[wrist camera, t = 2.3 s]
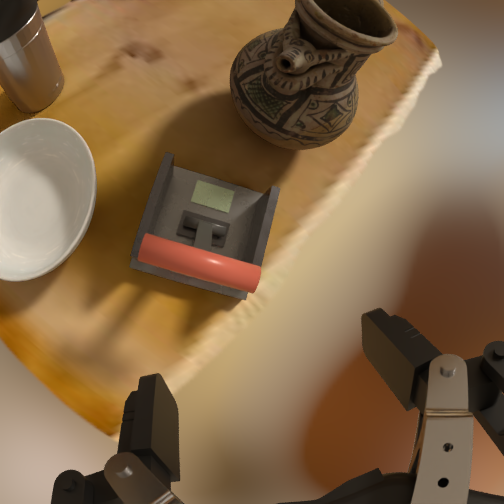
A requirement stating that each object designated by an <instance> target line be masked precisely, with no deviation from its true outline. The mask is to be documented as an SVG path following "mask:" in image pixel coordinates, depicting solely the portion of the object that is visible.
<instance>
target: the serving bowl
mask: <svg viewBox="0 0 504 504" xmlns="http://www.w3.org/2000/svg"><path fill="white" fill-rule="evenodd" d="M96 193H97V179H96V170H95V165H94V160H93V157H92V154H91V152H90V149H89V147H88V145H87V144H86V142H85V140H84V139H83V138H82V136H81V135H80V134H79V133H78V132H77V131H76V130H75V129H73V128H72V127H70V126H69V125H67V124H65V123H63V122H61V121H58V120H54V119H49V118H35V119H29V120H25V121H22V122H19V123H17V124H14V125H12V126H10V127H9V128H7V129H5V130H4V131H2V132H1V133H0V279H1V280H5V281H11V282H21V281H28V280H32V279H35V278H38V277H41V276H43V275H45V274H47V273H49V272H51V271H52V270H54V269H55V268H57V267H58V266H59V265H61V264H62V263H63V262H64V261H65V260H66V259H67V258H68V257H69V256H70V255H71V254H72V253H73V252H74V250H75V249H76V248H77V246H78V245H79V244H80V242H81V240H82V239H83V237H84V235H85V233H86V231H87V229H88V227H89V224H90V222H91V219H92V216H93V212H94V208H95V202H96Z"/></svg>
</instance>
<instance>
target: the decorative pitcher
mask: <svg viewBox="0 0 504 504" xmlns="http://www.w3.org/2000/svg"><path fill="white" fill-rule="evenodd" d="M295 6H296V7H295V9H294V11H293V13H292V15H291V17H290V19H289V21H288V23H287V24H286V25H285V27H284V28H281V29H276V30H272V31H269V32H266V33H264V34H261V35H259V36H257V37H256V38H254V39H253V40H251V41H250V42H249V43H247V44H246V45H245V46H244V47H243V48H242V49H241V51H240V52H239V53H238V55H237V56H236V58H235V60H234V62H233V64H232V67H231V72H230V89H231V94H232V98H233V102H234V105H235V107H236V109H237V111H238V113H239V115H240V116H241V118H242V120H243V121H244V122H245V124H246V125H247V126H248V127H249V128H250V129H251V130H252V131H253V132H254V133H256V134H257V135H258V136H260V137H261V138H263V139H264V140H266V141H268V142H270V143H272V144H274V145H276V146H279V147H282V148H286V149H294V150H305V149H312V148H316V147H320V146H323V145H326V144H328V143H330V142H332V141H333V140H335V139H336V138H337V137H339V136H340V135H341V134H342V133H343V132H344V131H345V130H346V129H347V128H348V127H349V126H350V124H351V122H352V121H353V118H354V116H355V113H356V110H357V105H358V84H357V79H356V75H355V74H356V72H357V71H358V70H359V69H360V68H361V67H362V65H363V64H364V63H365V61H366V60H367V59H368V58H369V56H370V55H371V54H373V53H377V52H379V51H380V50H382V49H383V47H384V46H387V45H390V44H392V43H393V42H394V41H395V40H396V38H397V36H398V28H397V26H396V24H395V22H394V20H393V19H392V17H391V16H390V14H389V13H388V12H387V11H386V9H385V8H384V7H383V0H295Z"/></svg>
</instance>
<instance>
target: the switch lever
mask: <svg viewBox="0 0 504 504" xmlns="http://www.w3.org/2000/svg"><path fill="white" fill-rule="evenodd" d="M183 225H184V226H187V227H191V228H194V229H197V230H196V234H195V239H194V243H193V247H192V246H188V245H185V244H181V243H178V242H175V241H171V240H168V239H165V238H161V237H158V236H154V235H151V234H148V233H146V234H145V235H144V238H143V240H142V243H141V247H140V250H139V255H138V261H140V262H143V263H147V264H150V265H153V266H157V267H160V268H164V269H167V270H170V271H174V272H177V273H181V274H184V275H188V276H191V277H195V278H198V279H202V280H205V281H209V282H213V283H216V284H220V285H224V286H227V287H231V288H235V289H238V290H242V291H246V292H250V293H254V292H255V290H256V288H257V286H258V283H259V280H260V275H261V267H260V266H257V265H254V264H250V263H247V262H243V261H240V260H236V259H233V258H229V257H226V256H222V255H219V254H216V253H212V252H211V244H212V234H214V235H218V236H221V237H224V235H225V232H226V227H223V226H220V225H216V224H213V223H210V222H206V221H203V220H200V219H196V218H193V217H190V216H185V219H184V223H183Z"/></svg>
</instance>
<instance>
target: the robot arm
mask: <svg viewBox="0 0 504 504" xmlns="http://www.w3.org/2000/svg"><path fill="white" fill-rule="evenodd" d="M0 85H1V87H2V88H3V90H4V91H5V93H6V94H7V96H8V97H9V98H10V100H11V101H12V102H13V103H15V105H16V106H17V107H18V109H19V110H20V111H22V112H25V113H34V112H38V111H40V110H42V109H44V108H46V107H47V106H49V105H50V104H51V103H52V102H53V101H54V100H55V99H56V98H57V97H58V95H59V94H60V92H61V90H62V88H63V85H64V77H63V74H62V71H61V69H60V66H59V64H58V61H57V58H56V56H55V53H54V50H53V48H52V45H51V42H50V39H49V37H48V34H47V31H46V28H45V25H44V22H43V19H42V17H41V14H40V11H39V8H38V4H37V1H36V0H0ZM361 320H362V321H361V322H362V346H363V350H364V353H365V355H366V357H367V358H368V360H369V361H370V362H371V364H372V365H373V366H374V368H375V369H376V370H377V372H378V373H379V374H380V375H381V377H382V378H383V379H384V381H385V382H386V384H387V385H388V386H389V388H390V389H391V390H392V392H393V393H394V394H395V396H396V397H397V398H398V400H399V401H400V402H401V404H402V405H403V407H404V408H405V409H406V411H409V410H411V409H412V408H415V407H417V408H418V409H419V411H420V412H419V417H418V423H417V430H416V436H415V442H414V447H413V453H412V457H411V461H410V464H409V468H408V472H407V473H402V472H396V473H386V474H381V472H380V470H379V468H377V469H375V470H372V471H370V472H368V473H365V474H363V475H361V476H358V477H356V478H353V479H351V480H349V481H347V482H345V483H344V484H342V485H341V486H339V487H337V488H336V489H334V490H333V491H331V492H329V493H328V494H326V495H325V496H323V497H321V498H319V499H317V500H311V501H301V502H288V503H278V504H504V496H499V495H493V494H488V493H484V492H479V491H475V490H470V489H469V483H470V474H471V463H472V448H473V415H474V417H475V418H476V419H477V420H478V422H479V423H480V424H481V426H482V427H483V428H484V430H485V431H486V432H487V434H488V435H489V436H490V438H491V439H492V441H493V442H494V443H495V444H496V446H497V447H498V449H499V450H500V451H501V453H502V454H503V456H504V395H503V394H502V392H503V393H504V342H502V341H494V342H491V343H489V344H488V345H487V346H486V347H485V349H484V352H483V355H482V356H479V357H475V358H471V359H468V360H462V359H461V358H460V357H458V356H456V355H452V354H444V355H443V354H442V353H441V352H440V351H439V350H438V349H437V348H436V347H434V346H433V345H432V344H431V343H430V342H429V341H428V340H427V339H426V338H425V337H424V336H423V335H422V334H420V332H419V331H418V330H417V329H415V328H414V327H413V326H412V325H411V324H410V323H409V322H408V321H407V320H406V319H403V318H401V317H398V316H396V315H393V316H391V317H390V316H389V315H388V314H387V313H386V312H385V311H383V309H381V308H377V309H375V310H372V311H370V312H367V313H364V314H363V315H362V318H361ZM122 421H123V423H122V424H121V431H120V437H119V444H118V452H117V454H116V455H114V456H112V457H111V458H110V459H109V460H108V461H107V463H106V464H105V467H104V470H102V471H99V472H96V473H94V474H91V475H88V476H83V475H82V474H81V473H80V472H78V471H76V470H67V471H64V472H62V473H61V474H60V475H59V476H58V477H57V478H56V480H55V483H54V487H53V493H52V500H51V504H184V503H183V502H182V501H181V500H180V499H179V498H178V497H177V496H176V495H174V493H172V492H171V482H176V481H180V462H179V423H178V422H179V420H178V408H177V404H176V401H175V399H174V397H173V396H172V394H171V392H170V390H169V389H168V387H167V385H166V383H165V381H164V379H163V378H162V376H161V375H160V374H159V373H157V374H152V375H147V376H142V377H140V379H139V385H138V391H132V392H131V393H130V395H129V397H128V398H127V400H126V401H125V406H124V414H123V418H122Z"/></svg>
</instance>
